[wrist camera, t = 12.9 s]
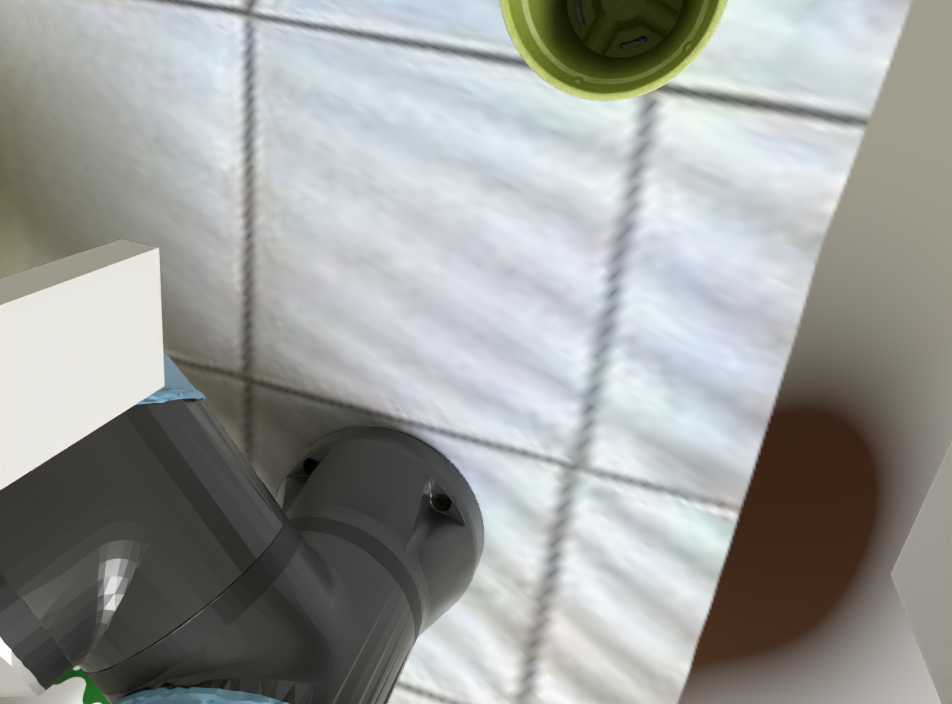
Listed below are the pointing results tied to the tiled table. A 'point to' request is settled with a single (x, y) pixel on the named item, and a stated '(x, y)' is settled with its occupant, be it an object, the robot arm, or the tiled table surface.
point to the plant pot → (610, 42)
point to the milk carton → (65, 692)
